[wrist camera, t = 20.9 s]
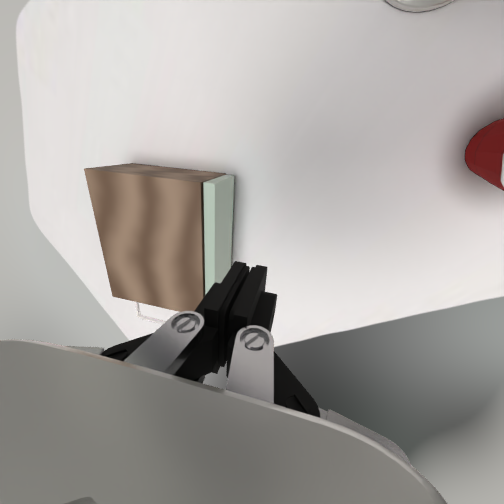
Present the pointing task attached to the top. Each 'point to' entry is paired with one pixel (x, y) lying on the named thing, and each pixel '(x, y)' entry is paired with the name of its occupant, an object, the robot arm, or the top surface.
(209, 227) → the tray
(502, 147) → the plastic cup
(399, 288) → the top surface
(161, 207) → the cabinet
